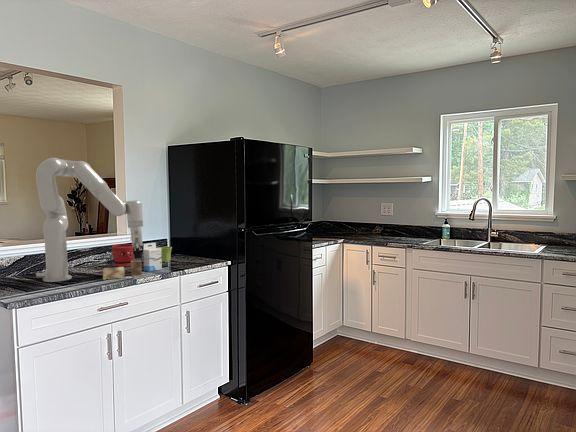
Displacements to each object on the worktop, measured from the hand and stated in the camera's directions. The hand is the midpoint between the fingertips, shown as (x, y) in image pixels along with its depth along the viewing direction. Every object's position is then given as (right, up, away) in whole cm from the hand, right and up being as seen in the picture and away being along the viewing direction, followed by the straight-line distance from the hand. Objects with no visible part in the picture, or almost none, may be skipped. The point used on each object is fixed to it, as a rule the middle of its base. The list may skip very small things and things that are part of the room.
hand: (137, 256), depth 228 cm
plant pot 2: (+4, -7, +38) cm, 38 cm away
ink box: (+5, -9, +11) cm, 15 cm away
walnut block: (-1, -9, 0) cm, 9 cm away
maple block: (-10, -10, -6) cm, 15 cm away
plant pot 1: (-16, -8, +25) cm, 31 cm away
